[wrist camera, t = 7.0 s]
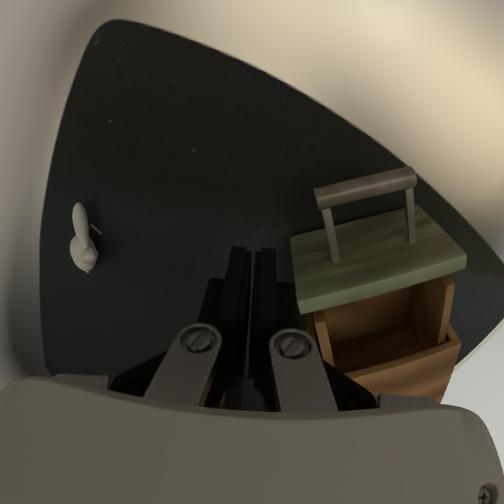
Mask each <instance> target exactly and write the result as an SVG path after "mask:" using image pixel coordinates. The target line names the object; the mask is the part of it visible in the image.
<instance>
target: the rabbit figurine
mask: <svg viewBox="0 0 504 504" xmlns="http://www.w3.org/2000/svg"><path fill="white" fill-rule="evenodd" d="M72 218H73V224H74V229H75V232H76V235H75V236H74V237H73V239H72V241H71V244H70V253H71V256H72V258H73V261H74V262H75V264H76V265H77V266H78V267H79V268H80V269H81V270H84V271H86V272H87V273H89V272H90V270H91V269H92V268H93V267H94V265H95V263H96V259H97V257H98V251H97V250H96V248H95V245H94V242H93V241H92V239H91V238H90V237H89V225H88V219H87V214H86V211H85V209H84V207H83V206H82V205H81V204H80V203H76V204H75V206H74V208H73V216H72ZM91 226H92V227H93V228H94V229H95V230H96V231H97V232H99V233H100V234H102V233H101V232H100V231H99V230H98V229H97V228H95V227H94V226H93V225H92V224H91Z"/></svg>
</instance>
